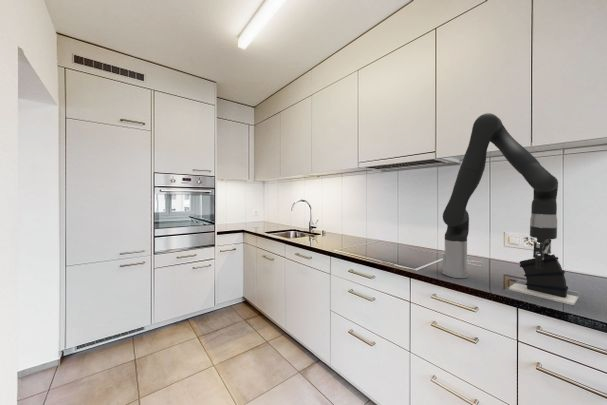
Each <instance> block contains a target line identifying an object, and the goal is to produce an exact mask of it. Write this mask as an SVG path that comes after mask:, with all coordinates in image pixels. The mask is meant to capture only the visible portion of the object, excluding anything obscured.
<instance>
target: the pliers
mask: <svg viewBox="0 0 607 405" xmlns="http://www.w3.org/2000/svg"><path fill="white" fill-rule="evenodd" d="M474 263H480V264H485V261H480V260H479V261H478V260H469V259H467V265H469V266H474V267H475V266H476V267H482V265H479V264H474Z"/></svg>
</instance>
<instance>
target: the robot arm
mask: <svg viewBox="0 0 607 405" xmlns="http://www.w3.org/2000/svg"><path fill="white" fill-rule="evenodd" d="M471 129H472V130H471V134H470V139H469V142H468V146H467V149H466V150H465V154H464V156H463V158H462V162H461V164H460V166H459V169H458V173H457V175H456V179H455V182H454V185H453V188H452V191H451V195H450V198H449V200H448V202H447V204H446V206H445V208H444V211H443V213H442V220H443V223H444V224H445V225H446V231H445V233H444V254H442V274H443V275H444V276H448V277H450V278H454V279H466V278H468V264H467V260H468V236H469V233H470V232H469V231H470V230H469V229H470V215H469V212H468V210H467V206H468V203H469V200H470V198H471V197H472V195H473V194H474V193H475V191H476V189H477V188H478V186H479V184H480V182H481V181H482V180H481V179H482V176H483V175H484V172H485V168H486V162H487V153H488V148H489V144H490V143H491V144H493V145H494V146H495V147H496V149H498V150H499V151H500V152H501V154H502V155H503V157H504V158H505V159H506V161H507V162H508V163H509V164H510V165H511V166H512V167H513V168H514V169H515V171H516V172H518V173H519V174H520V175H521V176H522V177H523V179H524V180H525V181H526V182H527V183H528V185H529V186H530V187H531V188H532V189H533V200H532V202H531V207H530V208H531V212H530V220H529V222H530V223H529V237H531V238H534V239H536V241H534V242H533V253H532V254H533V255H532V259H533V258H535V268H536V269H541V270H542V269H543V266H544V256H548V255H552V254H551V253H552V240H556V239H557V236H558V217H557V216H558V214H557V212H558V211H557V210H558V209H557V208H558V204H557V199H558V198H557V196H558V190H559V189H558V188H559V181H558V178H557V177H556V176H554V175H553V174H551V173H550V172H549V171H548V170H547V169H546V168H545V167H544V166H543V165H541V163H540V161H538V160H539V159H537V158H536V157H535V156H534V155H533V154H532V153H530V152H529V151H528V150H527V149H526V148H525V147H524V146H523V145H522V144H520V143H519V142H518V141H517V140H516V139H515V138H514V137H513V136H512V135H511V134H510V133H509V132H508V130H507V128H506V127H505V125H504V124H503V123H502V120H501V119H500V118H499V117H498V116H497V115H495V114H494V113H490V112H489V113H488V112H487V113H483V114H481V115H480V116H478V117H477V118H476V119H475V121H474V123H473V124H472V128H471Z"/></svg>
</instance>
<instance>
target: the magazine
mask: <svg viewBox="0 0 607 405" xmlns="http://www.w3.org/2000/svg"><path fill="white" fill-rule="evenodd" d="M519 267H520V268H522V269H523V272H524V274H523V276H524V277H525V278H526V281H527V283H526V284H525V285H527V289H529V290H533V291H538V292H542V293H546V294H551V295H555V296H559V297H563V298H565V297H566V296H567V290H569V286H568V285H567V281H566V279H567V278H566V277H565V274H566V271H565V270H564V269H563V268H562V265H561V264H560V261H559V257H558V256H555V254H550V255H548V256H544V266H543V269H542V270H541V269H536V268H535V258H533V257H532V258H529V259H525V260H520V261H519Z"/></svg>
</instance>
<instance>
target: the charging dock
mask: <svg viewBox="0 0 607 405" xmlns="http://www.w3.org/2000/svg"><path fill="white" fill-rule="evenodd" d="M526 283H527V280H523V279H519V278H516V279H515V283H514V284H512V285H510V286H509V287H508V290H509V291H512V292H515V293H516V292H517V293H521V294H526V295H528V296H529V295H530V296H533V297H534V296H535V297H538V298H541V299H546V300H549V301H554V302H558V303H563V304H567V305H570V306H575V304H576V303H577V301H578V300H579V295H580V294H579V292H580V291H575V290H571V289H568V290H567V296H566V297H565V298H563V297H559V296H555V295H551V294H546V293H542V292H538V291H533V290H529V289H527V285H525V284H526Z"/></svg>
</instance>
